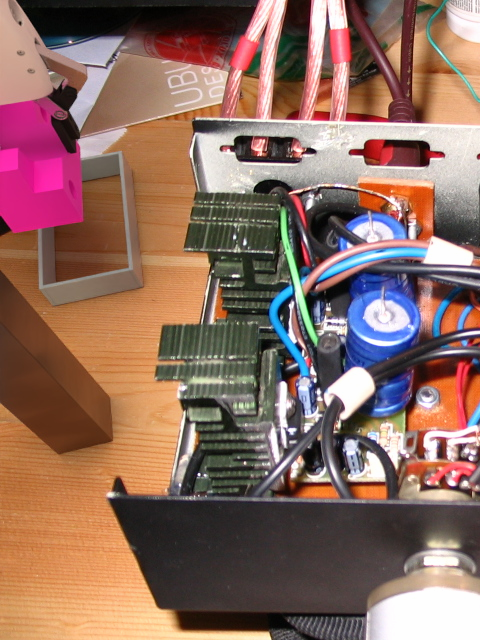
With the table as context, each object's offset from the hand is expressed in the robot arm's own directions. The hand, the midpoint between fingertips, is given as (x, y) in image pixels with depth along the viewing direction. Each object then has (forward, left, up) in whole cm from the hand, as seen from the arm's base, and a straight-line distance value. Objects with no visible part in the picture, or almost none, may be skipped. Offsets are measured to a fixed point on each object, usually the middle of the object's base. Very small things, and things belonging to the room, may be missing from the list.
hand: (33, 148), depth 76 cm
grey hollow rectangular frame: (+1, 0, -13) cm, 12 cm away
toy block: (0, 0, -3) cm, 3 cm away
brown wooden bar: (+11, -22, -13) cm, 27 cm away
